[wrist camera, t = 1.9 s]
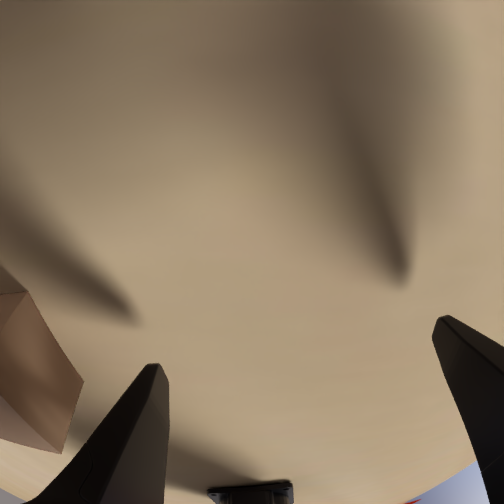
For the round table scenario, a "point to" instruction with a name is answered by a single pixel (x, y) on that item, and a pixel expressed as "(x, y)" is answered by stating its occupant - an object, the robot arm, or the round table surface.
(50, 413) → the walnut block
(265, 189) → the round table surface
